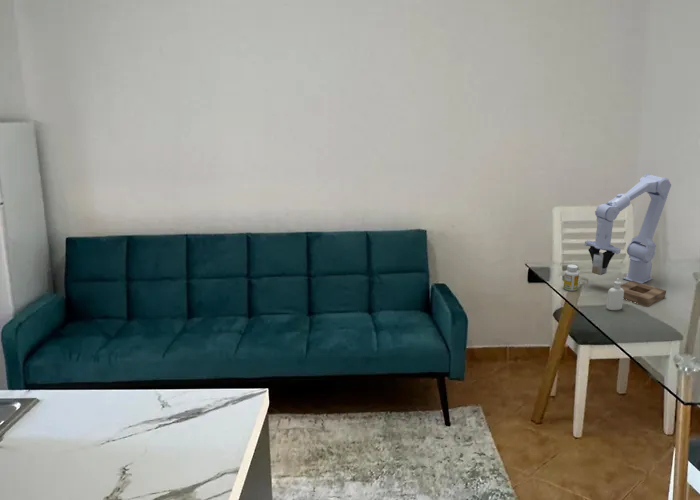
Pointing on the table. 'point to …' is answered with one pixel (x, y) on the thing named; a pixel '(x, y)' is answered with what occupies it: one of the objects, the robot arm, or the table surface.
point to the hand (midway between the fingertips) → (599, 266)
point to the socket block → (642, 293)
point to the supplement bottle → (571, 278)
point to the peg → (598, 264)
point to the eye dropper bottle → (615, 296)
